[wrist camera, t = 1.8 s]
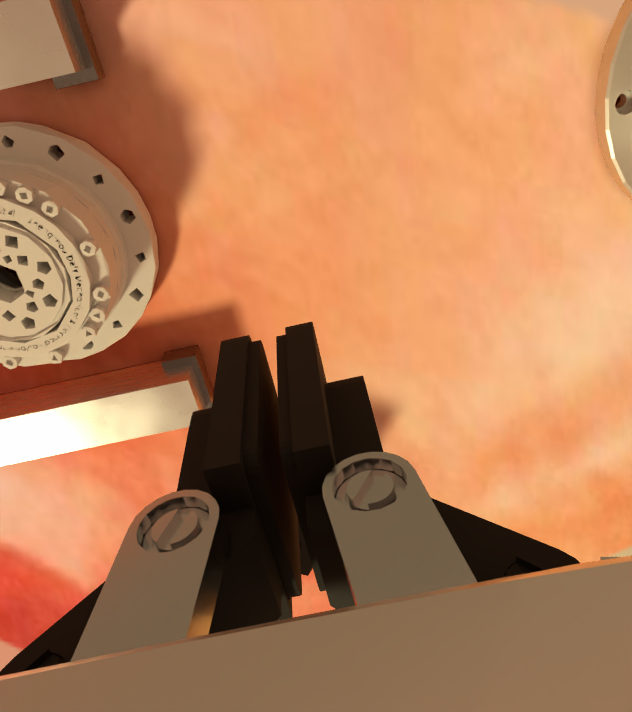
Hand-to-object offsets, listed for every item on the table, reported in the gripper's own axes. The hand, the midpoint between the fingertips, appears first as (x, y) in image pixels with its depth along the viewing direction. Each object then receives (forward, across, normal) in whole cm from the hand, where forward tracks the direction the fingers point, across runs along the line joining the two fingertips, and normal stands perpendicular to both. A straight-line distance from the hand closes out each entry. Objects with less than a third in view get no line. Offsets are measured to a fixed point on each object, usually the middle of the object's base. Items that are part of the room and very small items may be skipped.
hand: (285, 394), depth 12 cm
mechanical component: (+16, +10, 0) cm, 19 cm away
